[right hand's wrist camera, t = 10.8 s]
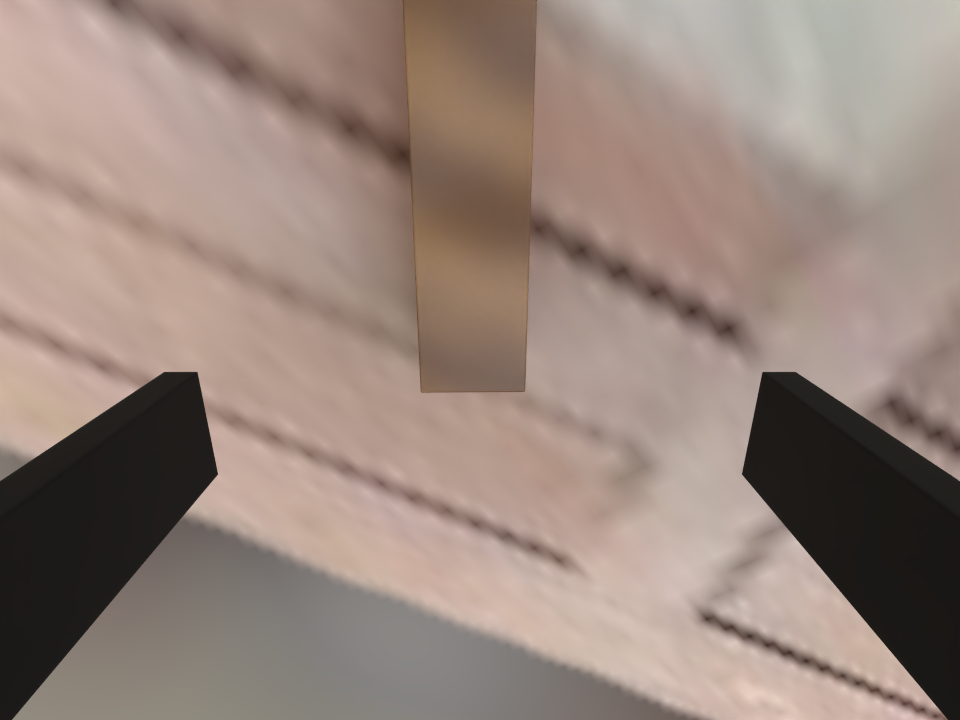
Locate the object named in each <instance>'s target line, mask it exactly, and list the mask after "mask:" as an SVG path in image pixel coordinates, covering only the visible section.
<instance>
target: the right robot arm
mask: <svg viewBox="0 0 960 720" xmlns="http://www.w3.org/2000/svg"><path fill="white" fill-rule="evenodd" d="M217 475H218V472H217V467H216V462H215V457H214V452H213V447H212V442H211V437H210V432H209V427H208V422H207V417H206V412H205V408H204V403H203V398H202V393H201V388H200V383H199V378H198V373H197V372H164V373H162V374H161V375H159V376H158V377H156V378H155V379H153V380H152V381H150V382H149V383H147V384H146V385H144V386H143V387H141V388H140V389H138V390H137V391H135V392H134V393H132V394H131V395H129V396H128V397H126V398H125V399H123V400H122V401H120V402H119V403H117V404H116V405H114V406H113V407H111V408H110V409H108V410H107V411H105V412H104V413H102V414H101V415H99V416H98V417H96V418H95V419H93V420H92V421H90V422H89V423H87V424H86V425H84V426H83V427H81V428H80V429H78V430H77V431H75V432H74V433H72V434H71V435H69V436H68V437H66V438H64V439H63V440H61V441H60V442H58V443H57V444H55V445H54V446H52V447H51V448H49V449H48V450H46V451H45V452H43V453H42V454H40V455H39V456H37V457H36V458H34V459H33V460H31V461H30V462H28V463H27V464H25V465H24V466H22V467H21V468H19V469H18V470H17V471H15V472H13V473H12V474H10V475H9V476H7V477H6V478H4V479H3V480H1V481H0V720H12V719H13V718H14V717H15V715H16V714H17V713H18V712H19V711H20V710H21V708H22V707H23V706H24V705H25V703H26V702H27V701H28V700H29V699H30V698H31V696H32V695H33V694H34V693H35V692H36V690H37V689H38V688H39V687H40V686H41V684H42V683H43V682H44V681H45V680H46V679H47V677H48V676H49V675H50V674H51V673H52V671H53V670H54V669H55V668H56V667H57V665H58V664H59V663H60V662H61V661H62V659H63V658H64V657H65V656H66V655H67V653H68V652H69V651H70V650H71V649H72V648H73V646H74V645H75V644H76V643H77V642H78V640H79V639H80V638H81V637H82V636H83V634H84V633H85V632H86V631H87V630H88V629H89V627H90V626H91V625H92V624H93V623H94V621H95V620H96V619H97V618H98V617H99V615H100V614H101V613H102V612H103V611H104V609H105V608H106V607H107V606H108V605H109V603H110V602H111V601H112V600H113V599H114V598H115V596H116V595H117V594H118V593H119V592H120V590H121V589H122V588H123V587H124V586H125V584H126V583H127V582H128V581H129V580H130V578H131V577H132V576H133V575H134V574H135V573H136V571H137V570H138V569H139V568H140V567H141V565H142V564H143V563H144V562H145V561H146V559H147V558H148V557H149V556H150V555H151V553H152V552H153V551H154V550H155V549H156V547H157V546H158V545H159V544H160V543H161V542H162V540H163V539H164V538H165V537H166V536H167V534H168V533H169V532H170V531H171V530H172V528H173V527H174V526H175V525H176V524H177V523H178V521H179V520H180V519H181V518H182V517H183V515H184V514H185V513H186V512H187V511H188V509H189V508H190V507H191V506H192V505H193V503H194V502H195V501H196V500H197V499H198V497H199V496H200V495H201V494H202V493H203V492H204V490H205V489H206V488H207V487H208V486H209V484H210V483H211V482H212V481H213V480H214V478H215V477H216V476H217ZM742 475H743V476H744V477H745V478H746V480H747V481H748V482H749V483H750V484H751V486H752V487H753V488H754V489H755V490H756V492H757V493H758V494H759V495H760V496H761V497H762V499H763V500H764V501H765V502H766V503H767V505H768V506H769V507H770V508H771V509H772V511H773V512H774V513H775V514H776V515H777V517H778V518H779V519H780V520H781V521H782V523H783V524H784V525H785V526H786V527H787V528H788V530H789V531H790V532H791V533H792V534H793V536H794V537H795V538H796V539H797V540H798V542H799V543H800V544H801V545H802V546H803V548H804V549H805V550H806V551H807V552H808V553H809V555H810V556H811V557H812V558H813V559H814V561H815V562H816V563H817V564H818V565H819V567H820V568H821V569H822V570H823V571H824V573H825V574H826V575H827V576H828V577H829V578H830V580H831V581H832V582H833V583H834V584H835V586H836V587H837V588H838V589H839V590H840V592H841V593H842V594H843V595H844V596H845V598H846V599H847V600H848V601H849V602H850V604H851V605H852V606H853V607H854V608H855V609H856V611H857V612H858V613H859V614H860V615H861V617H862V618H863V619H864V620H865V621H866V623H867V624H868V625H869V626H870V627H871V629H872V630H873V631H874V632H875V633H876V634H877V636H878V637H879V638H880V639H881V640H882V642H883V643H884V644H885V645H886V646H887V648H888V649H889V650H890V651H891V652H892V654H893V655H894V656H895V657H896V658H897V659H898V661H899V662H900V663H901V664H902V665H903V667H904V668H905V669H906V670H907V671H908V673H909V674H910V675H911V676H912V677H913V679H914V680H915V681H916V682H917V683H918V684H919V686H920V687H921V688H922V689H923V690H924V692H925V693H926V694H927V695H928V696H929V698H930V699H931V700H932V701H933V702H934V704H935V705H936V706H937V707H938V708H939V710H940V711H941V712H942V713H943V714H944V715H945V717H946V718H947V719H948V720H960V481H959V480H957V479H956V478H954V477H953V476H951V475H950V474H948V473H947V472H945V471H944V470H942V469H941V468H939V467H938V466H936V465H935V464H933V463H932V462H930V461H929V460H927V459H926V458H924V457H923V456H921V455H920V454H918V453H917V452H915V451H914V450H912V449H911V448H909V447H908V446H906V445H905V444H903V443H902V442H900V441H899V440H897V439H896V438H894V437H892V436H891V435H889V434H888V433H886V432H885V431H883V430H882V429H880V428H879V427H877V426H876V425H874V424H873V423H871V422H870V421H868V420H867V419H865V418H864V417H862V416H861V415H859V414H858V413H856V412H855V411H853V410H852V409H850V408H849V407H847V406H846V405H844V404H843V403H841V402H840V401H838V400H837V399H835V398H834V397H832V396H831V395H829V394H828V393H826V392H825V391H823V390H822V389H820V388H819V387H817V386H816V385H814V384H813V383H811V382H810V381H808V380H807V379H805V378H804V377H802V376H801V375H799V374H798V373H796V372H763V373H762V378H761V383H760V388H759V393H758V398H757V403H756V408H755V412H754V417H753V422H752V427H751V432H750V437H749V442H748V447H747V452H746V457H745V462H744V467H743V472H742Z"/></svg>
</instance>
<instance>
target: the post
mask: <svg viewBox="0 0 960 720" xmlns="http://www.w3.org/2000/svg"><path fill="white" fill-rule="evenodd" d="M536 14H537V0H403V15H404V37H405V59H406V80H407V102H408V124H409V146H410V168H411V189H412V211H413V233H414V255H415V276H416V298H417V320H418V342H419V364H420V385H421V392H422V393H424V392H524V391H525V378H526V345H527V312H528V279H529V246H530V213H531V179H532V146H533V113H534V80H535V47H536Z"/></svg>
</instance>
